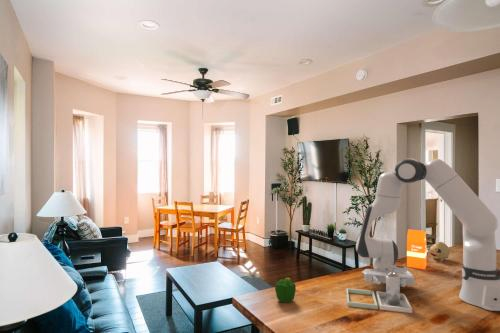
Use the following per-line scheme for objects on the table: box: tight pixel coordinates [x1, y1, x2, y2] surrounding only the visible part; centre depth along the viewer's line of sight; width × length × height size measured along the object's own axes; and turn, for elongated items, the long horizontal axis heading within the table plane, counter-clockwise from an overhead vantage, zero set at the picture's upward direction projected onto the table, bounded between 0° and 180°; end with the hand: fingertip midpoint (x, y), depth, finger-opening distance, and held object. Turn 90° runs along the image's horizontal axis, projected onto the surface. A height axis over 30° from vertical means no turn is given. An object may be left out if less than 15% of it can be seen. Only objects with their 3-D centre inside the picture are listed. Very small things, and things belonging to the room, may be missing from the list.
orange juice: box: [406, 228, 428, 270], centre depth 173 cm, size 8×9×20 cm
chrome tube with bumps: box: [385, 272, 401, 306], centre depth 124 cm, size 5×5×12 cm
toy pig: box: [426, 241, 451, 262], centre depth 183 cm, size 10×12×11 cm
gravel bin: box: [375, 290, 413, 314], centre depth 124 cm, size 11×14×3 cm
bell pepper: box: [274, 277, 297, 303], centre depth 130 cm, size 8×8×10 cm
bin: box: [346, 287, 379, 310], centre depth 127 cm, size 11×14×3 cm
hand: (390, 283), depth 128 cm, fingers open, 8 cm apart
